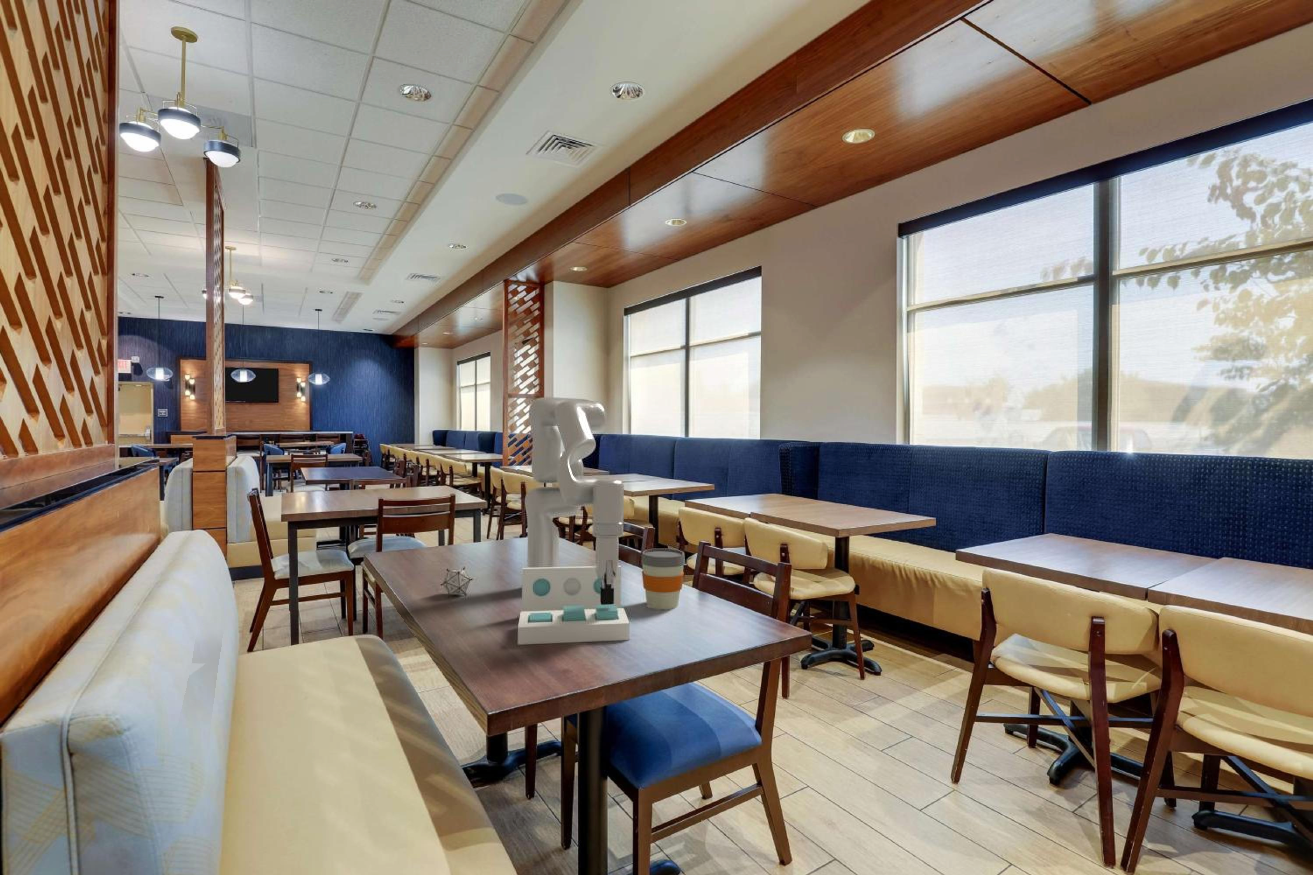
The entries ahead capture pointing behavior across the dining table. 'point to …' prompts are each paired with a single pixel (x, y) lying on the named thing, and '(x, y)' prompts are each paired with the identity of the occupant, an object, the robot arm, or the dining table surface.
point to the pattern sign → (563, 588)
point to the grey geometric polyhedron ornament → (456, 582)
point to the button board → (572, 628)
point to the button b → (573, 613)
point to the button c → (606, 612)
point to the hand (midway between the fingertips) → (607, 603)
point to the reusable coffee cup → (662, 577)
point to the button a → (540, 617)
